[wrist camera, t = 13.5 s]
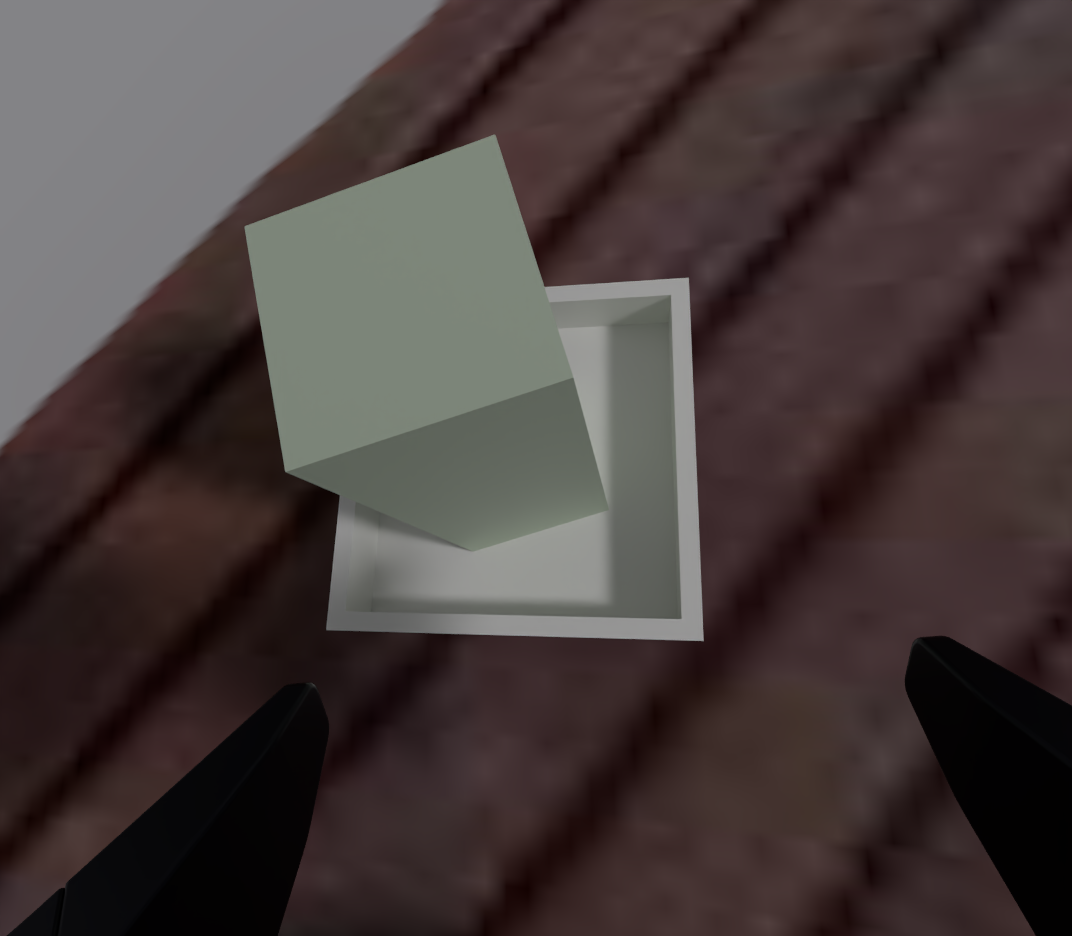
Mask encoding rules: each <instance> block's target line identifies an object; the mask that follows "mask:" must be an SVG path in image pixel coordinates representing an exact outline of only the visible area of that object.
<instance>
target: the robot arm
mask: <svg viewBox="0 0 1072 936" xmlns="http://www.w3.org/2000/svg"><path fill="white" fill-rule="evenodd" d="M905 688H906V692H907V695H908V697H909V700H910V702H911V704H912V706H913V708H914V710H915V713H916V715H917V717H918V719H919V721H920V723H921V726H922V728H923V730H924V732H925V734H926V736H927V739H928V741H929V743H930V745H931V747H932V749H933V752H934V754H935V756H936V758H937V760H938V762H939V765H940V767H941V769H942V771H943V773H944V775H945V778H946V780H947V782H948V784H949V786H950V788H951V790H952V792H953V794H954V796H955V798H956V800H957V802H958V803H959V805H960V807H961V809H962V810H963V812H964V814H965V816H966V818H967V819H968V821H969V823H970V824H971V826H972V828H973V829H974V831H975V833H976V835H977V836H978V838H979V840H980V841H981V843H982V845H983V846H984V848H985V850H986V852H987V853H988V855H989V857H990V858H991V860H992V862H993V864H994V865H995V867H996V869H997V870H998V872H999V874H1000V875H1001V877H1002V879H1003V881H1004V882H1005V884H1006V886H1007V887H1008V889H1009V891H1010V892H1011V894H1012V896H1013V898H1014V899H1015V901H1016V903H1017V904H1018V906H1019V908H1020V910H1021V911H1022V913H1023V915H1024V916H1025V918H1026V920H1027V921H1028V923H1029V925H1030V927H1031V928H1032V930H1033V932H1034V933H1035V935H1036V936H1072V705H1070V704H1068V703H1066V702H1064V701H1063V700H1061V699H1059V698H1057V697H1055V696H1054V695H1052V694H1050V693H1048V692H1046V691H1045V690H1043V689H1041V688H1039V687H1037V686H1036V685H1034V684H1032V683H1030V682H1029V681H1027V680H1025V679H1023V678H1021V677H1020V676H1018V675H1016V674H1014V673H1012V672H1011V671H1009V670H1007V669H1005V668H1003V667H1002V666H1000V665H998V664H996V663H994V662H993V661H991V660H989V659H987V658H985V657H984V656H982V655H980V654H978V653H976V652H975V651H973V650H971V649H969V648H968V647H966V646H964V645H962V644H960V643H959V642H957V641H955V640H953V639H951V638H949V637H946V636H932V637H920V638H917V639H916V640H915V641H914V642H913V644H912V647H911V652H910V656H909V661H908V666H907V670H906V675H905ZM328 735H329V722H328V718H327V715H326V712H325V709H324V706H323V703H322V701H321V698H320V695H319V692H318V689H317V687H316V686H315V685H314V684H313V683H296V684H288V685H286V686H284V687H283V688H282V689H280V690H279V691H278V692H277V693H276V694H275V695H274V696H273V697H272V698H271V699H269V700H268V701H267V702H266V703H265V704H264V705H263V706H262V707H261V708H259V709H258V710H257V711H256V712H255V713H254V714H253V715H252V716H251V717H249V718H248V719H247V720H246V721H245V722H244V723H243V724H242V725H241V726H240V727H238V728H237V729H236V730H235V731H234V732H233V733H232V734H231V735H230V736H228V737H227V738H226V739H225V740H224V741H223V742H222V743H221V744H220V745H218V746H217V747H216V748H215V749H214V750H213V751H212V752H211V753H210V754H208V755H207V756H206V757H205V758H204V759H203V760H202V761H201V762H200V763H199V764H197V765H196V766H195V767H194V768H193V769H192V770H191V771H190V772H189V773H187V774H186V775H185V776H184V777H183V778H182V779H181V780H180V781H179V782H177V783H176V784H175V785H174V786H173V787H172V788H171V789H170V790H169V791H168V792H166V793H165V794H164V795H163V796H162V797H161V798H160V799H159V800H158V801H156V802H155V803H154V804H153V805H152V806H151V807H150V808H149V809H148V810H146V811H145V812H144V813H143V814H142V815H141V816H140V817H139V818H138V819H136V820H135V821H134V822H133V823H132V824H131V825H130V826H129V827H128V828H127V829H125V830H124V831H123V832H122V833H121V834H120V835H119V836H118V837H117V838H115V839H114V840H113V841H112V842H111V843H110V844H109V845H108V846H107V847H105V848H104V849H103V850H102V851H101V852H100V853H99V854H98V855H97V856H95V857H94V858H93V859H92V860H91V861H90V862H89V863H88V864H87V865H86V866H84V867H83V868H82V869H81V870H80V871H79V872H78V873H77V874H76V875H74V876H73V877H72V878H71V879H70V880H69V881H68V882H67V883H66V886H65V888H60V889H59V890H58V891H56V892H55V893H54V894H53V895H52V896H51V897H50V898H49V899H48V900H46V901H45V902H44V903H43V904H42V905H41V906H40V907H39V908H38V909H37V910H35V911H34V912H33V913H32V914H31V915H30V916H29V917H28V918H26V919H25V920H24V921H23V922H22V923H21V924H20V925H18V926H17V927H16V928H15V929H14V930H13V931H12V932H10V933H9V934H8V935H7V936H278V933H279V930H280V926H281V923H282V920H283V917H284V913H285V910H286V907H287V904H288V900H289V897H290V894H291V891H292V888H293V884H294V881H295V878H296V875H297V871H298V868H299V865H300V862H301V858H302V855H303V852H304V848H305V845H306V841H307V838H308V833H309V829H310V825H311V820H312V815H313V810H314V805H315V800H316V795H317V790H318V785H319V781H320V776H321V771H322V766H323V761H324V756H325V751H326V746H327V741H328Z"/></svg>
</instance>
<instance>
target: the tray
mask: <svg viewBox="0 0 1072 936" xmlns="http://www.w3.org/2000/svg"><path fill="white" fill-rule="evenodd" d="M544 288H545V291H546V294H547V297H548V300H549V303H550V306H551V309H552V312H553V316H554V319H555V322H556V325H557V328H558V331H559V334H560V337H561V340H562V343H563V347H564V350H565V353H566V356H567V359H568V362H569V365H570V368H571V371H572V375H573V378H574V381H575V385H576V389H577V393H578V396H579V400H580V404H581V407H582V411H583V415H584V419H585V422H586V426H587V430H588V433H589V437H590V441H591V445H592V448H593V452H594V456H595V459H596V463H597V467H598V471H599V474H600V478H601V482H602V485H603V489H604V493H605V497H606V500H607V504H608V508H609V510H607V511H604V512H601V513H597V514H594V515H591V516H588V517H584V518H581V519H578V520H575V521H571V522H568V523H565V524H562V525H558V526H555V527H552V528H549V529H545V530H542V531H539V532H536V533H532V534H529V535H526V536H522V537H519V538H516V539H513V540H509V541H506V542H503V543H500V544H496V545H493V546H490V547H487V548H483V549H480V550H477V551H474V552H473V551H471V550H468V549H466V548H464V547H461V546H459V545H456V544H454V543H452V542H449V541H447V540H445V539H442V538H440V537H438V536H435V535H433V534H430V533H428V532H426V531H423V530H421V529H419V528H416V527H414V526H412V525H409V524H407V523H405V522H402V521H400V520H397V519H395V518H393V517H390V516H388V515H386V514H383V513H381V512H379V511H376V510H374V509H372V508H369V507H367V506H364V505H362V504H360V503H357V502H355V501H353V500H350V499H348V498H346V497H343V496H341V495H340V499H339V509H338V519H337V529H336V538H335V548H334V558H333V568H332V578H331V587H330V597H329V607H328V617H327V626H326V630H340V631H375V632H410V633H445V634H480V635H515V636H550V637H585V638H620V639H655V640H690V641H703V617H702V592H701V568H700V543H699V519H698V494H697V470H696V445H695V421H694V396H693V372H692V347H691V323H690V298H689V278H678V279H662V280H647V281H632V282H616V283H601V284H585V285H570V286H555V287H544Z"/></svg>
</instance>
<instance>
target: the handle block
mask: <svg viewBox="0 0 1072 936" xmlns="http://www.w3.org/2000/svg"><path fill="white" fill-rule="evenodd" d="M245 233H246V239H247V245H248V251H249V257H250V263H251V269H252V275H253V281H254V287H255V293H256V299H257V305H258V311H259V317H260V323H261V329H262V335H263V341H264V347H265V353H266V359H267V365H268V371H269V377H270V383H271V389H272V395H273V401H274V407H275V413H276V419H277V425H278V431H279V437H280V443H281V449H282V455H283V461H284V467H285V472H287V473H289V474H291V475H294V476H296V477H298V478H301V479H303V480H305V481H308V482H310V483H313V484H315V485H317V486H320V487H322V488H324V489H327V490H329V491H331V492H334V493H336V494H338V495H341V496H343V497H346V498H348V499H350V500H353V501H355V502H357V503H360V504H362V505H364V506H367V507H369V508H372V509H374V510H376V511H379V512H381V513H383V514H386V515H388V516H390V517H393V518H395V519H397V520H400V521H402V522H405V523H407V524H409V525H412V526H414V527H416V528H419V529H421V530H423V531H426V532H428V533H430V534H433V535H435V536H438V537H440V538H442V539H445V540H447V541H449V542H452V543H454V544H456V545H459V546H461V547H464V548H466V549H468V550H471V551H473V552H474V551H477V550H480V549H483V548H487V547H490V546H493V545H496V544H500V543H503V542H506V541H509V540H513V539H516V538H519V537H522V536H526V535H529V534H532V533H536V532H539V531H542V530H545V529H549V528H552V527H555V526H558V525H562V524H565V523H568V522H571V521H575V520H578V519H581V518H584V517H588V516H591V515H594V514H597V513H601V512H604V511H607V510H609V508H608V504H607V500H606V497H605V493H604V489H603V485H602V482H601V478H600V474H599V471H598V467H597V463H596V459H595V456H594V452H593V448H592V445H591V441H590V437H589V433H588V430H587V426H586V422H585V419H584V415H583V411H582V407H581V404H580V400H579V396H578V393H577V389H576V385H575V381H574V378H573V375H572V371H571V368H570V365H569V362H568V359H567V356H566V353H565V350H564V347H563V343H562V340H561V337H560V334H559V331H558V328H557V325H556V322H555V319H554V316H553V312H552V309H551V306H550V303H549V300H548V297H547V294H546V291H545V288H544V285H543V281H542V278H541V275H540V272H539V269H538V266H537V263H536V260H535V257H534V254H533V250H532V247H531V244H530V241H529V238H528V235H527V232H526V229H525V226H524V222H523V219H522V216H521V213H520V210H519V207H518V204H517V201H516V198H515V195H514V191H513V188H512V185H511V182H510V179H509V176H508V173H507V170H506V167H505V164H504V160H503V157H502V154H501V151H500V148H499V145H498V142H497V139H496V136H495V135H492V136H490V137H487V138H484V139H482V140H479V141H476V142H473V143H471V144H468V145H465V146H462V147H460V148H457V149H454V150H452V151H449V152H446V153H443V154H441V155H438V156H435V157H433V158H430V159H427V160H424V161H422V162H419V163H416V164H413V165H411V166H408V167H405V168H403V169H400V170H397V171H394V172H392V173H389V174H386V175H383V176H381V177H378V178H375V179H373V180H370V181H367V182H364V183H362V184H359V185H356V186H354V187H351V188H348V189H345V190H343V191H340V192H337V193H334V194H332V195H329V196H326V197H324V198H321V199H318V200H315V201H313V202H310V203H307V204H304V205H302V206H299V207H296V208H294V209H291V210H288V211H285V212H283V213H280V214H277V215H275V216H272V217H269V218H266V219H264V220H261V221H258V222H255V223H253V224H250V225H247V226H245Z"/></svg>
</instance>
